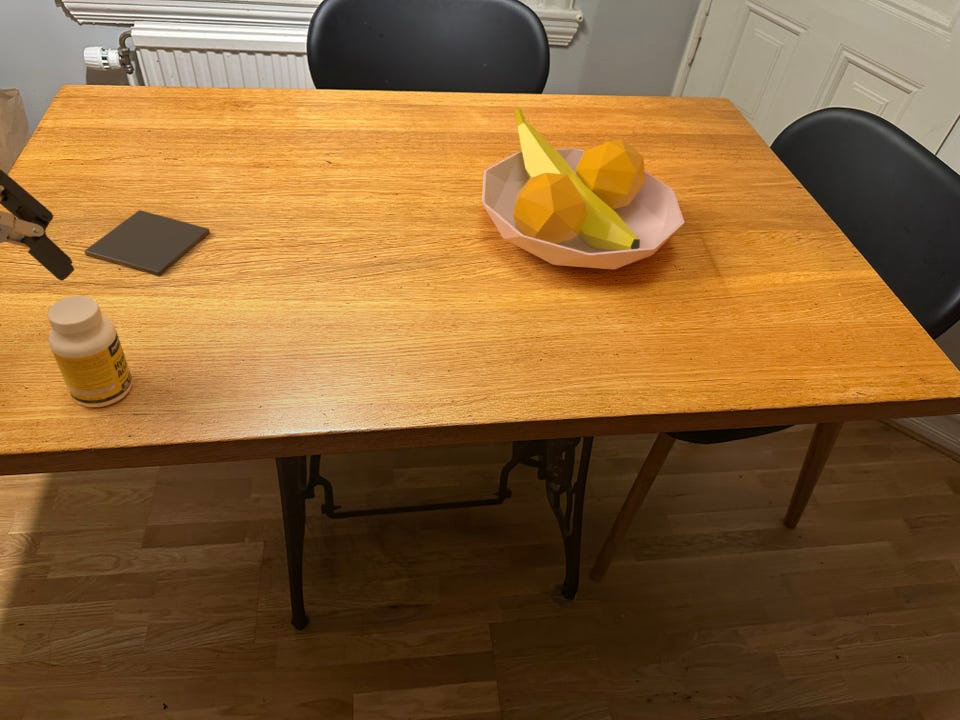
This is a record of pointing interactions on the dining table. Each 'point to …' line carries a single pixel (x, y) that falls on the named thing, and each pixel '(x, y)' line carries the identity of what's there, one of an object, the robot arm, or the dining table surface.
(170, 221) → the coaster
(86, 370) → the supplement bottle
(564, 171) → the fruit bowl
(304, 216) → the dining table surface
